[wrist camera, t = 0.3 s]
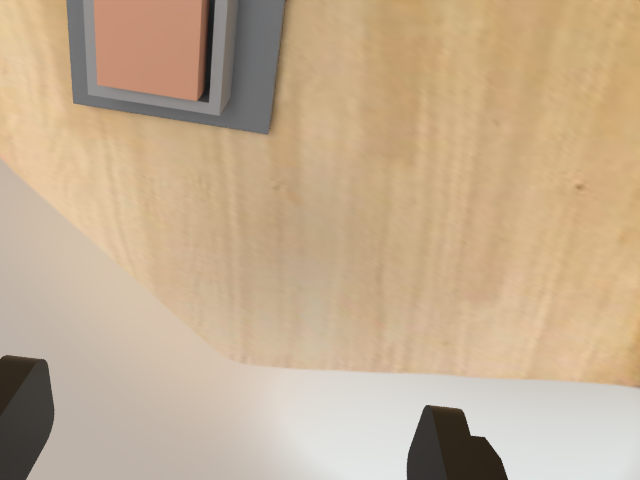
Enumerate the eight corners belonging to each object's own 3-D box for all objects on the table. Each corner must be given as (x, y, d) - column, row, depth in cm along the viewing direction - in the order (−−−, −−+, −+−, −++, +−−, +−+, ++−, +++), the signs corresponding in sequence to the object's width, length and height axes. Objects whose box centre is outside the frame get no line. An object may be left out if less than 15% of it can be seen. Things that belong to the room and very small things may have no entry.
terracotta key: (107, -27, 26) (92, -25, 24) (209, -9, 27) (201, -5, 25) (111, 75, 29) (97, 84, 27) (204, 91, 29) (196, 101, 27)
